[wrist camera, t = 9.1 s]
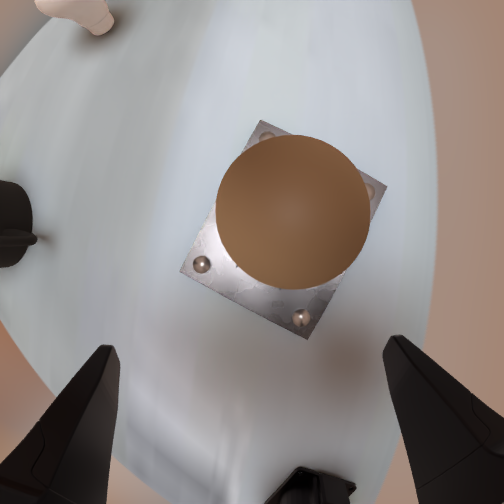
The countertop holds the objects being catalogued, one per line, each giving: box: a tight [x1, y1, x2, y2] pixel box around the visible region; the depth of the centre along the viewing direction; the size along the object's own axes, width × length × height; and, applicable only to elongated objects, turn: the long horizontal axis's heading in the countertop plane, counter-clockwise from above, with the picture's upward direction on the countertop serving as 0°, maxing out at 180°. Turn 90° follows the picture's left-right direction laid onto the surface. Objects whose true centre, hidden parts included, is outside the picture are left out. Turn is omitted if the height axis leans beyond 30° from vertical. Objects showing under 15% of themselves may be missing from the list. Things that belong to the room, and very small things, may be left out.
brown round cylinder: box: [215, 135, 371, 290], centre depth 15 cm, size 4×4×12 cm
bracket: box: [180, 120, 387, 340], centre depth 21 cm, size 12×10×4 cm
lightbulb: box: [34, 0, 114, 35], centre depth 17 cm, size 6×6×11 cm
